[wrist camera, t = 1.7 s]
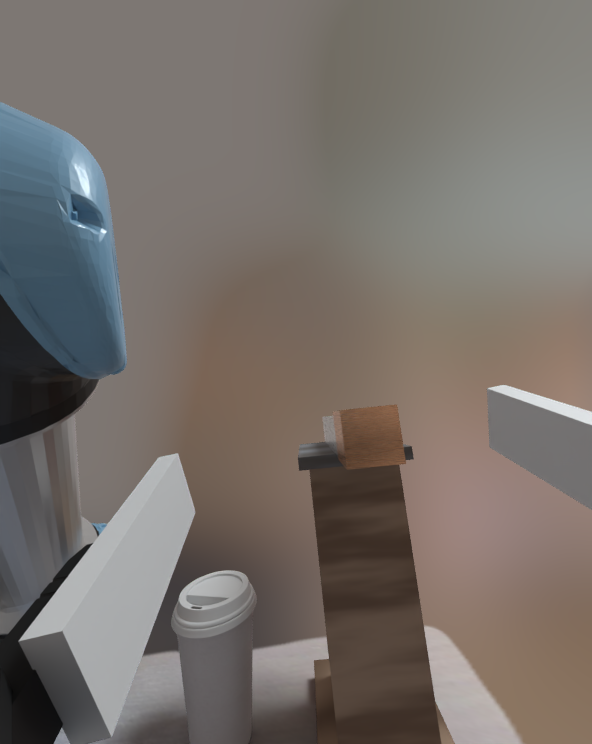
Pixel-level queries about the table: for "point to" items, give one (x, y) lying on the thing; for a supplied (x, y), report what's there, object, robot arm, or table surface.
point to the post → (369, 609)
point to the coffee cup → (217, 656)
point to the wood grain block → (365, 436)
